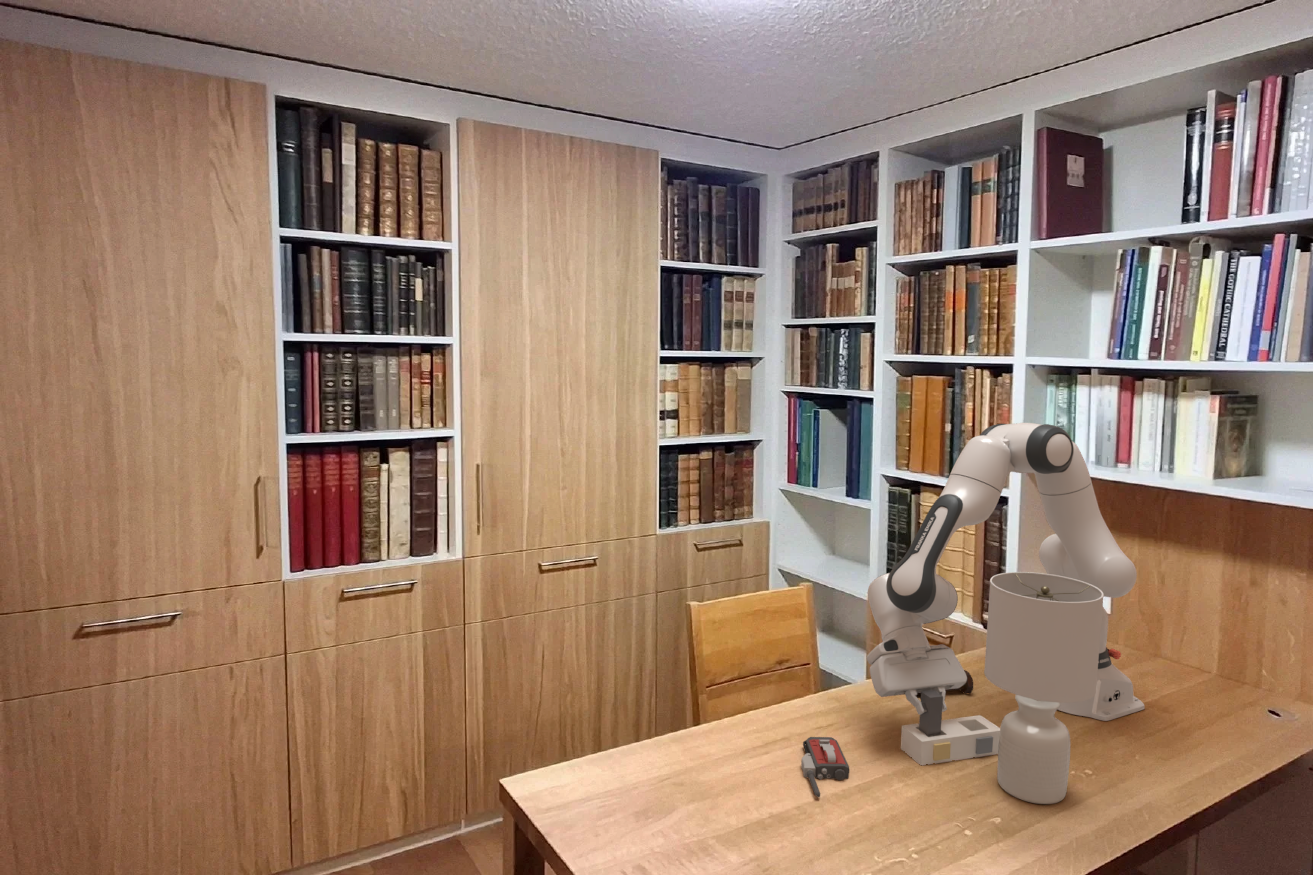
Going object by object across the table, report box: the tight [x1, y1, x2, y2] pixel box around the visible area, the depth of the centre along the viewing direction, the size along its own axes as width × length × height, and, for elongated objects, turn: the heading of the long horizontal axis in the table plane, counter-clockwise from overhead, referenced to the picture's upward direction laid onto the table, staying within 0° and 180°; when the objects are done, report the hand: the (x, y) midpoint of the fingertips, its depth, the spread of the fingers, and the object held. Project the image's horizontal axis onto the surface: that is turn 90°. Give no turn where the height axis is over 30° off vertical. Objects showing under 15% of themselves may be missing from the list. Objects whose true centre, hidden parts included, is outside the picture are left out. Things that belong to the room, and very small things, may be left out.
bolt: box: [916, 669, 974, 696], centre depth 194 cm, size 6×5×15 cm
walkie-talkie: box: [800, 736, 850, 798], centre depth 157 cm, size 9×4×20 cm
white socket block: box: [900, 714, 1000, 766], centre depth 166 cm, size 19×8×5 cm, turn 106°
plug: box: [918, 690, 943, 736], centre depth 164 cm, size 3×3×8 cm
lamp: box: [983, 571, 1104, 805], centre depth 151 cm, size 19×19×39 cm
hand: (932, 712), depth 163 cm, fingers closed on plug, 3 cm apart
